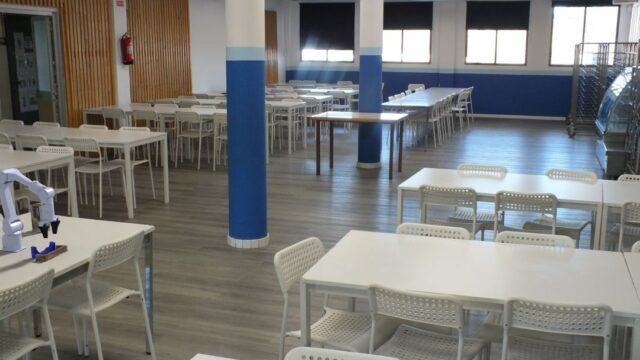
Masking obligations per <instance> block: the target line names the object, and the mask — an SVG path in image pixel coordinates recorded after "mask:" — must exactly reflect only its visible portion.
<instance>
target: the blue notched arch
mask: <svg viewBox="0 0 640 360" xmlns="http://www.w3.org/2000/svg"><path fill="white" fill-rule="evenodd" d="M54 250H56V241H49V245H48V246H46V248H45V249H44V250H42V251H40V252H39V251H38V248H37V246H34V245H32V246H30V254H31V255H30V256H31V258H32V259H34V260H36V256H35V255H36V254H42V255H46V254H48V253H50V252H52V251H54Z"/></svg>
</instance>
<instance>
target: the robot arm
mask: <svg viewBox="0 0 640 360" xmlns="http://www.w3.org/2000/svg"><path fill="white" fill-rule="evenodd" d="M15 181H16V182H18V183H20V184H22V185H24V186H26V187H28V190H29V191H30V192H32V193H34V194H35V195H37V196H38V199H39V200H40V203H42V214H43V220H41V221H40V222H39V223H38V228H39V229H40V231H41V233H40V234H41V235H42V237H43V239H48V238H49V231H48V229H49V226H47V225H46V224H48V223H50V229H51V232H52V235H57V234H58V230H59V227H60V223H61V220H60V215H55V207H54V204H55V203H54V197H55V196H56V191H55V189H54V188H53V187H51V186H46V185H44V184H42V183H40V182H39V181H38V180H33V181H32V180H31V179H30V178H28V177H26V175H24V174H22V173H21V172H20V170H19V169H17V168H16V167H10V168H6V169H2V170H1V169H0V203H1V206H2V211H3V215H4V218H3V220H2V222H1V224H2V228H1V229H2V230H1V231H2V233H3V235H2V237H1V244H2V250H1V251H2V252H9V253H10V252H13V253H18V252H20V251H23V250H24V249H27V246H23V237H22V233H23V230H24V228H25V224H24V222H23V220H22V219H21V217H20V216H19V215H17V213H16V209H15V206H14V202H13V201H14V200H13V197H12V194H11V190H10V185H11V184H12V183H13V182H15Z"/></svg>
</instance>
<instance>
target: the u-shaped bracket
mask: <svg viewBox="0 0 640 360" xmlns="http://www.w3.org/2000/svg"><path fill="white" fill-rule="evenodd" d="M55 246H56V250H54V251H52V252H50V253H48V254H46V255H42V254H36V255H35V256H36V259H35V261H36V262H37V261H38V262H47V261H50V260H53V259H55V258H56V257H58V256H61V255H62V254H64V253H67V252H68V245H66V244H55Z"/></svg>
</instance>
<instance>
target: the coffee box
mask: <svg viewBox="0 0 640 360" xmlns="http://www.w3.org/2000/svg"><path fill="white" fill-rule="evenodd" d="M29 212H30V219H31V220H30V221H31V230H32V232H37V233H40V234H42V233H41V231H40V229H39V228H38V223H39V222H40V221H41V220H43V214H42V203H41V202H36V203H32V204H29ZM46 225H47V226H49V229H48V232H50V231H51V225H50V223H48V224H46Z"/></svg>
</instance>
